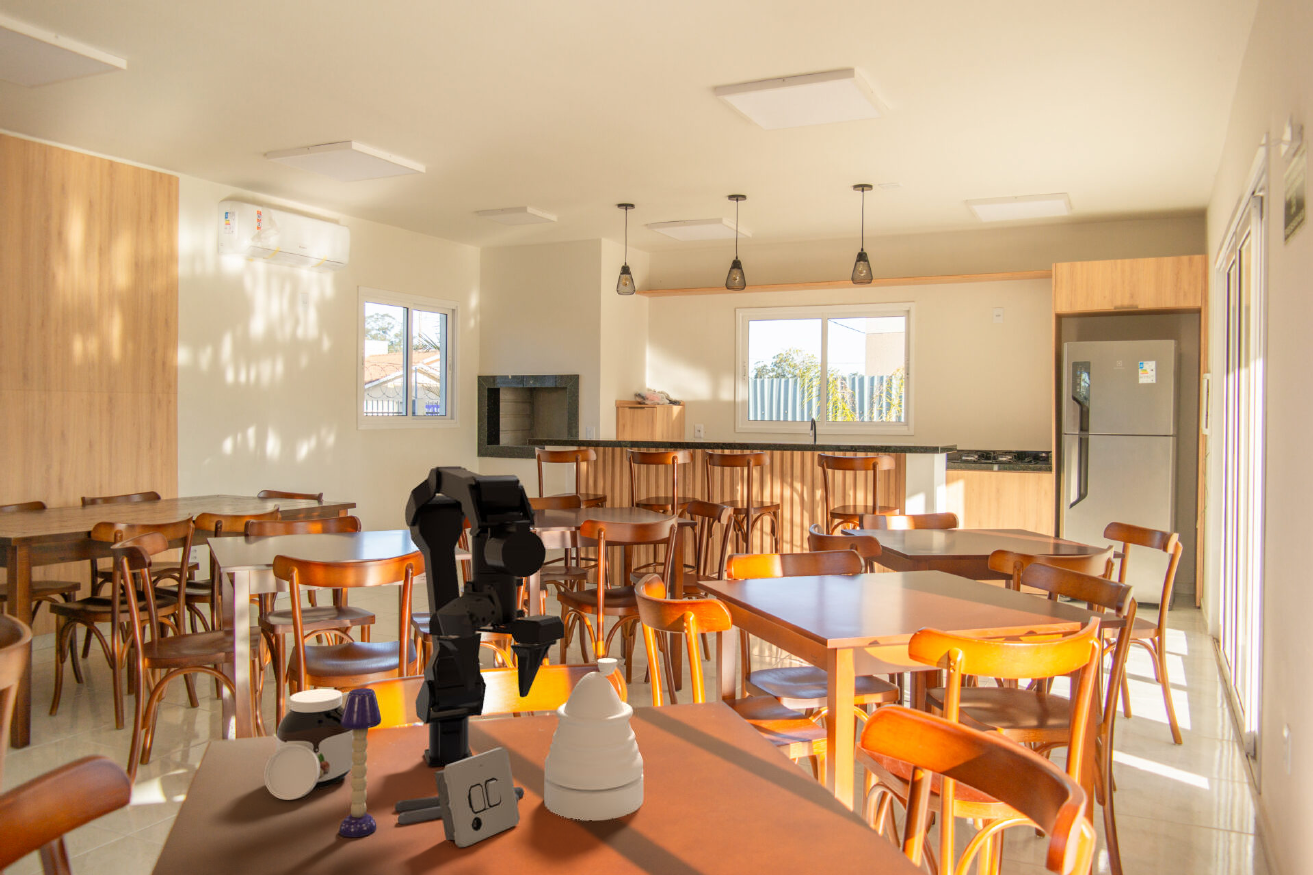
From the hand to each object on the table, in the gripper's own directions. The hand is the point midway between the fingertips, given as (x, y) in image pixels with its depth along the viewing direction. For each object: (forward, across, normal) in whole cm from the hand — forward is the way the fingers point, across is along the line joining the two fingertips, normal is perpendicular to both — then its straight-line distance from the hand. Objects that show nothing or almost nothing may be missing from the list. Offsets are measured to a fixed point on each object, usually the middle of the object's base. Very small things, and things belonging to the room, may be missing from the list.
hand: (496, 693), depth 121 cm
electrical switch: (+15, +3, -8) cm, 17 cm away
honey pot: (+15, +10, +8) cm, 19 cm away
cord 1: (+14, -4, -2) cm, 15 cm away
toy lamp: (+14, -9, -15) cm, 22 cm away
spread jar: (+13, -26, -9) cm, 30 cm away
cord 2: (+14, -2, -4) cm, 15 cm away
